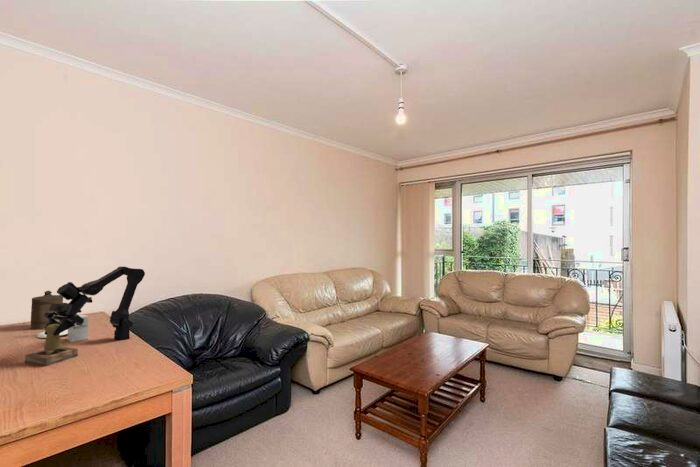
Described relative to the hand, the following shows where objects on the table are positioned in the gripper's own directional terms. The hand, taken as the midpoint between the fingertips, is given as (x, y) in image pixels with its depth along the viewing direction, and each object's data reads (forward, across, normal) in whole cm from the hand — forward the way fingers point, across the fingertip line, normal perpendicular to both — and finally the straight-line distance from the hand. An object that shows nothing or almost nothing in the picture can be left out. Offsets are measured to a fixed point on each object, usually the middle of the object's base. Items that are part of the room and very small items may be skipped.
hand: (49, 334), depth 152 cm
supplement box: (-10, -19, +27) cm, 35 cm away
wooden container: (-20, -65, +38) cm, 77 cm away
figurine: (-13, -40, +31) cm, 52 cm away
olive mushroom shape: (+4, 0, +6) cm, 7 cm away
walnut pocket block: (+8, 0, +9) cm, 12 cm away
